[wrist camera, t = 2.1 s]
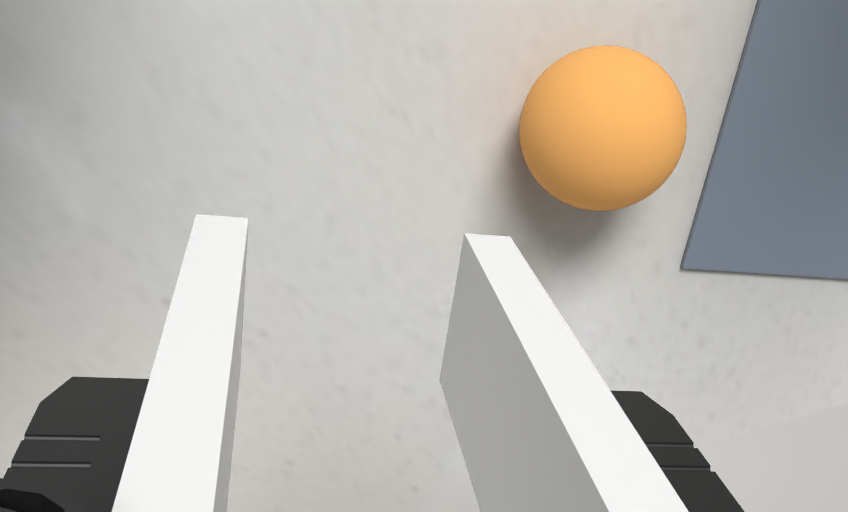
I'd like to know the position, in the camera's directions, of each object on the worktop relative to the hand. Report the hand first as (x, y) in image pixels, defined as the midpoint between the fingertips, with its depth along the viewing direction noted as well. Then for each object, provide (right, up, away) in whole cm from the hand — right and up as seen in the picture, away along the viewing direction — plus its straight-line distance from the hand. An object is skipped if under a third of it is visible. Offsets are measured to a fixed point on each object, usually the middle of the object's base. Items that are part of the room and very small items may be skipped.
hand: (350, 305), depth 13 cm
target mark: (+18, +5, +19) cm, 27 cm away
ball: (+7, +5, +14) cm, 17 cm away
